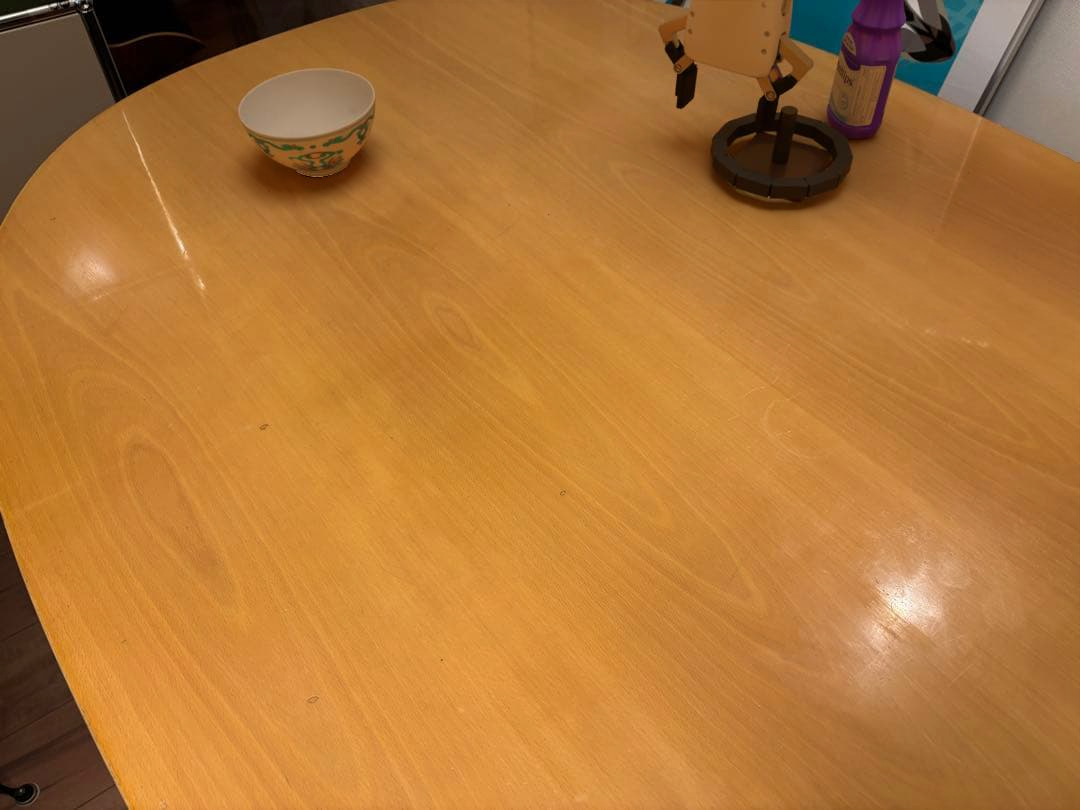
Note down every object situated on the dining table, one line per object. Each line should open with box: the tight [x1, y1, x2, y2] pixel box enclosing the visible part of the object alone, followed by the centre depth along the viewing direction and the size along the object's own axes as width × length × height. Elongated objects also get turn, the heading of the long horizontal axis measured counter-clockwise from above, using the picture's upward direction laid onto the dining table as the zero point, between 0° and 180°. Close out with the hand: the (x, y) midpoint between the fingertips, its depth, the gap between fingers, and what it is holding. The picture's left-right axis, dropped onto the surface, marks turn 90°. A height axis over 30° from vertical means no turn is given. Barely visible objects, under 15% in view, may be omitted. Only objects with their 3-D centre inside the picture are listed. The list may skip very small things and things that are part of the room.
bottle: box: [826, 0, 907, 139], centre depth 97 cm, size 7×6×17 cm
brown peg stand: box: [733, 105, 833, 204], centre depth 95 cm, size 9×9×8 cm
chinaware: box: [237, 67, 376, 177], centre depth 99 cm, size 15×15×8 cm
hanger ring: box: [709, 111, 854, 200], centre depth 96 cm, size 15×15×2 cm
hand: (722, 115), depth 97 cm, fingers open, 9 cm apart
